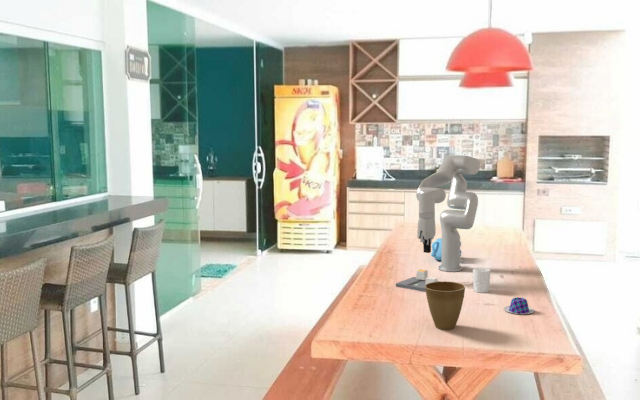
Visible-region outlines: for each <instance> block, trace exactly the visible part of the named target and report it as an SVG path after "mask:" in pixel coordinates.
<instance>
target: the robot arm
mask: <svg viewBox="0 0 640 400" xmlns="http://www.w3.org/2000/svg"><path fill="white" fill-rule="evenodd" d="M480 168H481V164H480V161H479V159H477V158H476V157H473V156H469V155H458V154H457V155H453V154H452V155H448V156H445V158H444V159H443V160H442V162H441V164H440V165H439V167H438V169H437V171H436V172H435V173H433V174H431V175H429V176H427V177H425V178H424V179H423V180H422V181H421V182H420V184H419V186H418V188H417V189H416V192H415V193H416V194H415V196H416V200H417V201H418V222H417V231H416V232H417V233H416V234H417V237H416V238H417V239H418V240H419V241H420V243H422V245H423V246H422V247H423V253H427V254H429V253H430V254H431V253H432V243H433V242H432V241H433V239H435V238H434V237H436V220H435V219H436V215H435V214H436V213H435V212H436V211H435V210H436V204H441V203H443V202H444V201H445V200H447V201H446V204H447V206H448V208H450V209H446V210H445V209H444V210H443V211H441V212H440V215H439V222H440V228H441V229H440V230H441V238H442V256H441V260H440V262H441V264H440V265H439V266H438V270H439V271H442V272H443V271H444V272H450V273H451V272H453V273H455V272H461V271H463V269H464V268H463V266H462V265H460V264H462V263H463V259H461V256H460V250H461V246H460V242H461V235H460V232H459V231H458V230H470V229H472V228H473V226H474V223H475V219H476V215H477V210H478V204H479V197H478V195H477V194H476V193H475V192H472V191H467V187H468V183H467V181H466V179H465V177H464V176H463V175H477V174H478V173H479V171H480ZM448 184H450V187H449V191H448V196H447V193H446V190H444V189H443V188H440V187H442V186H446V185H448ZM446 196H447V197H446ZM446 198H447V199H446Z"/></svg>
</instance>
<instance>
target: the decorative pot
mask: <svg viewBox="0 0 640 400" xmlns="http://www.w3.org/2000/svg"><path fill="white" fill-rule="evenodd" d="M461 245H462V241H460V247H461ZM430 256H431V257H433V258H434V259H435V260H436V261H437V260H438V261H441V256H442V237H441V238H436V239H435V241H433V242H431V252H430ZM461 256H462V250H461V249H460V257H461Z"/></svg>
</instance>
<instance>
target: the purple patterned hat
mask: <svg viewBox="0 0 640 400" xmlns="http://www.w3.org/2000/svg"><path fill="white" fill-rule="evenodd" d="M503 309H504V311H506V312H507V313H510V314H516V315H529V314H533V313H535V309H534V308H532V307H530V306H529V303H528V300H527V299H526V298H523V297H520V296H519V297H513V298H512V299H511V301H510V304H509V305H508V306H505V307H504V308H503Z"/></svg>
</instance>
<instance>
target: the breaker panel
mask: <svg viewBox="0 0 640 400" xmlns="http://www.w3.org/2000/svg"><path fill="white" fill-rule="evenodd" d="M437 282H441V280H440V281H439V280H437ZM425 285H426V280H420V279H416V276H412V277H409V278H407V279H404V280H401V281H399V282H396V283H395V287H396V288H402V289H403V288H404V289H408V290H413V291H419V292H423V293H426V290H425Z"/></svg>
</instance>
